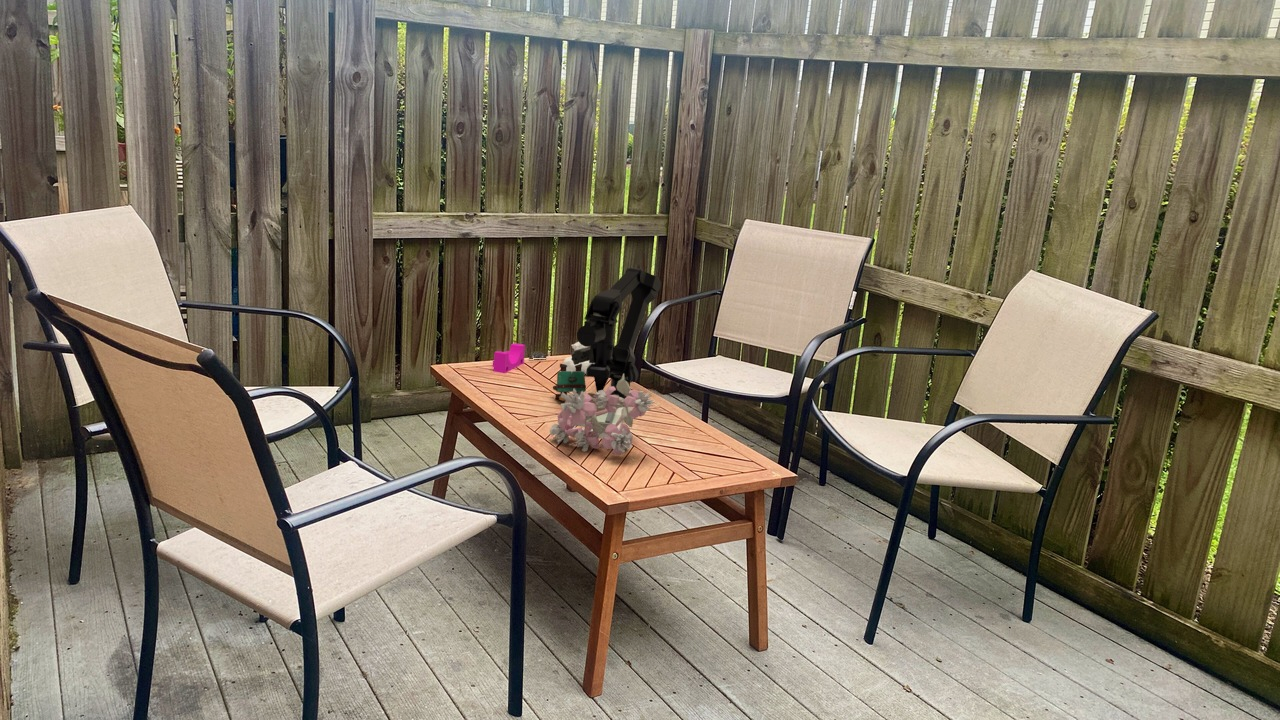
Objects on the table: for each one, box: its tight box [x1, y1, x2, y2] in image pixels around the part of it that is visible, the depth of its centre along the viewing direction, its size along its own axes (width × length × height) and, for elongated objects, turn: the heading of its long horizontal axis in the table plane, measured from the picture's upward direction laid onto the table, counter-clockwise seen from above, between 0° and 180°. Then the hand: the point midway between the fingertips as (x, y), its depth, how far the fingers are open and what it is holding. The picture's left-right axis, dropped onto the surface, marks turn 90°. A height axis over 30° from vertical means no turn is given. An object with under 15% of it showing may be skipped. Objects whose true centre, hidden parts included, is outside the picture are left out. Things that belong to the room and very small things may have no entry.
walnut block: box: [587, 392, 605, 412], centre depth 267 cm, size 5×5×4 cm
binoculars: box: [552, 363, 587, 402], centre depth 279 cm, size 9×11×10 cm
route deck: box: [557, 391, 624, 440], centre depth 262 cm, size 25×16×5 cm, turn 176°
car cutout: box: [528, 350, 547, 362], centre depth 322 cm, size 15×7×4 cm, turn 120°
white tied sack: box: [562, 341, 594, 374], centre depth 308 cm, size 12×8×11 cm, turn 114°
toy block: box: [492, 342, 526, 374], centre depth 308 cm, size 15×6×8 cm, turn 163°
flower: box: [549, 374, 655, 456], centre depth 241 cm, size 20×22×25 cm
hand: (599, 394), depth 274 cm, fingers closed
